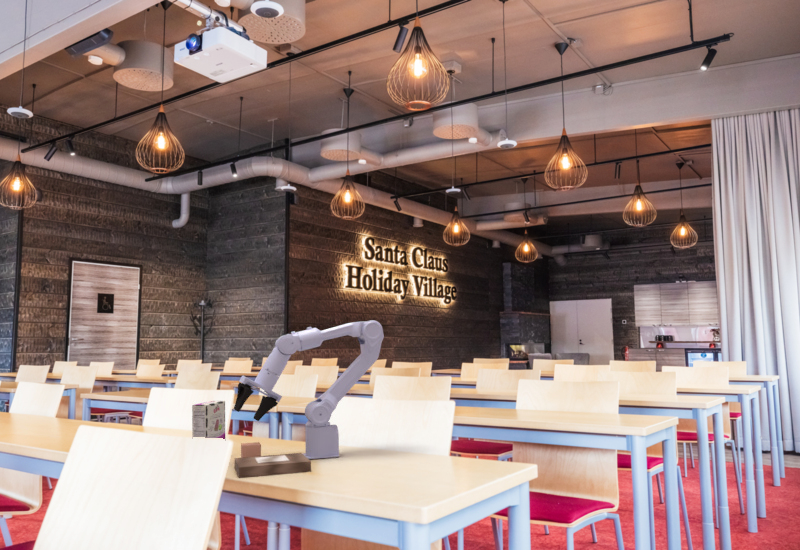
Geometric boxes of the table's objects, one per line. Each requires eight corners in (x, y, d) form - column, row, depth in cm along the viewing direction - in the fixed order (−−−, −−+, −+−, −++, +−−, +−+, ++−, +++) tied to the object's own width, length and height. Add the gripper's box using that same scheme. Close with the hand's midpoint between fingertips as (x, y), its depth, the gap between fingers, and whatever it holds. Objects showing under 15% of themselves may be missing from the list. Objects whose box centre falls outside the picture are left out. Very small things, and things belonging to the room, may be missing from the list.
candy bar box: (210, 456, 186) (211, 400, 188) (225, 456, 185) (226, 400, 187) (190, 463, 175) (191, 404, 177) (207, 463, 174) (207, 404, 176)
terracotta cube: (258, 459, 178) (258, 442, 179) (260, 462, 174) (261, 444, 174) (241, 461, 177) (241, 443, 177) (242, 464, 172) (242, 446, 173)
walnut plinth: (301, 462, 173) (301, 452, 173) (310, 471, 160) (310, 460, 160) (234, 467, 167) (234, 457, 167) (238, 477, 154) (239, 466, 154)
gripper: (280, 378, 187) (257, 419, 184) (245, 358, 177) (220, 401, 174) (293, 385, 182) (269, 427, 178) (257, 365, 172) (232, 409, 169)
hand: (246, 415), depth 176 cm, fingers open, 7 cm apart
